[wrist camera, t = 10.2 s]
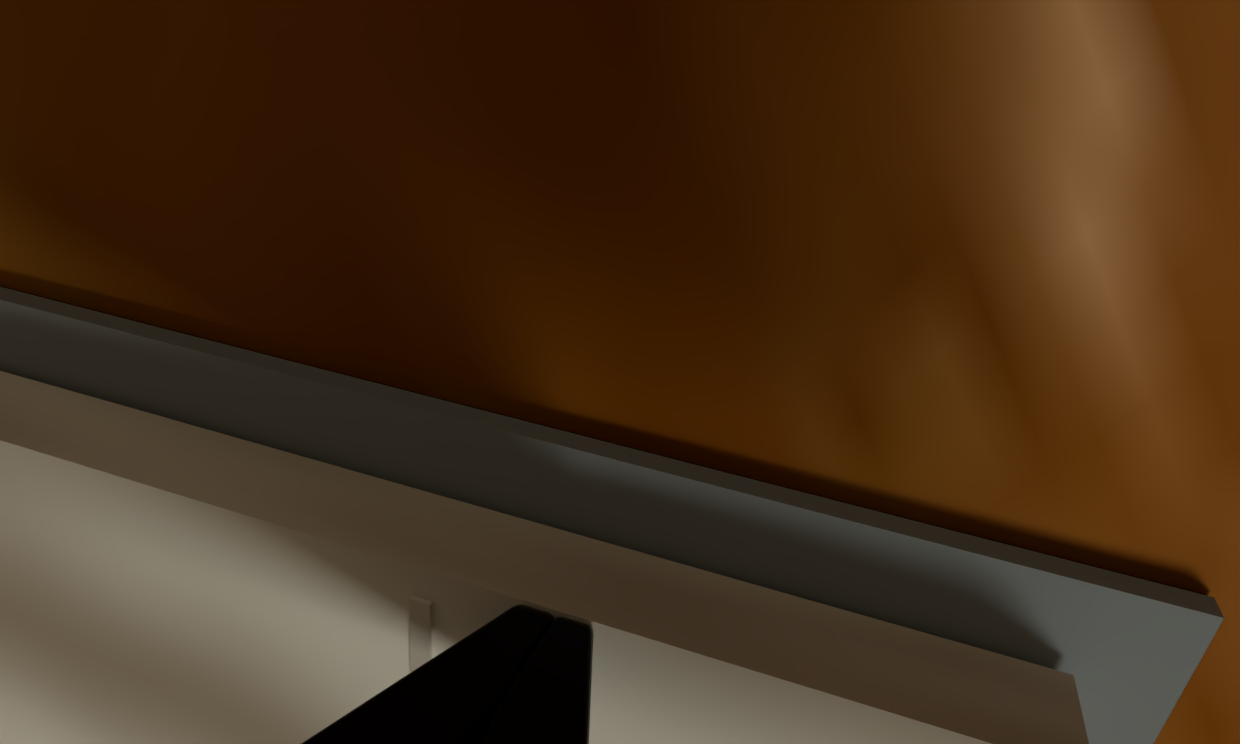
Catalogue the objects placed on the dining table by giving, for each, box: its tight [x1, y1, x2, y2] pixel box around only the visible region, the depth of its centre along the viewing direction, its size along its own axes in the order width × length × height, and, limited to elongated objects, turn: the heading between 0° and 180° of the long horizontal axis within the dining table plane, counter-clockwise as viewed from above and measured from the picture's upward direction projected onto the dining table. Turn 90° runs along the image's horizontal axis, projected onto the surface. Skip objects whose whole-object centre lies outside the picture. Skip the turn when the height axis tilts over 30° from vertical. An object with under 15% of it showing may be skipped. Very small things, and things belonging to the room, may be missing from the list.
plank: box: [0, 371, 1089, 744], centre depth 12 cm, size 8×22×1 cm, turn 84°
